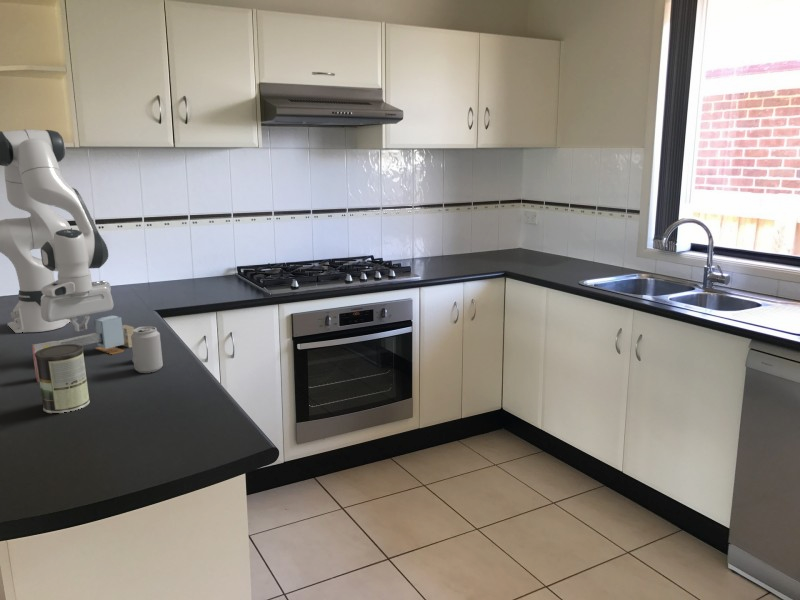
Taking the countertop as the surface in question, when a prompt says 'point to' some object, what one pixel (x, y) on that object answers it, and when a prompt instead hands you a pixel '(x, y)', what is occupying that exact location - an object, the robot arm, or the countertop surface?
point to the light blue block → (109, 331)
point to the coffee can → (62, 378)
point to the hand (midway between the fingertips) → (81, 330)
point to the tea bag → (38, 347)
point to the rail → (98, 337)
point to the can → (146, 349)
